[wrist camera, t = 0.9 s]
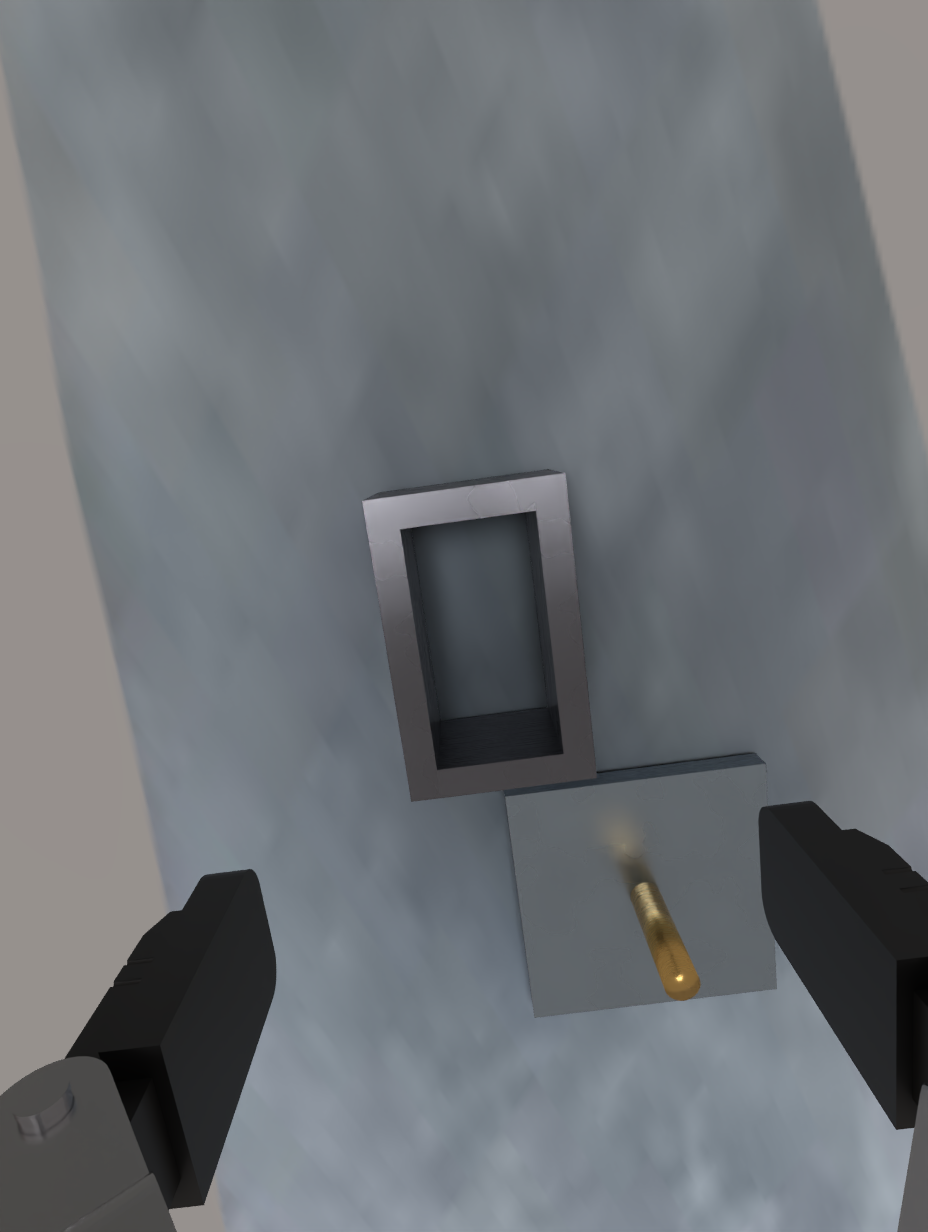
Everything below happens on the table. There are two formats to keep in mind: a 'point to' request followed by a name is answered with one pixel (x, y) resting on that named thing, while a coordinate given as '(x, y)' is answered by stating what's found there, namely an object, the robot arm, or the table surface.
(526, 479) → the grey storage bin
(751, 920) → the peg plate
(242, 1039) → the robot arm
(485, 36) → the table surface
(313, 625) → the table surface
